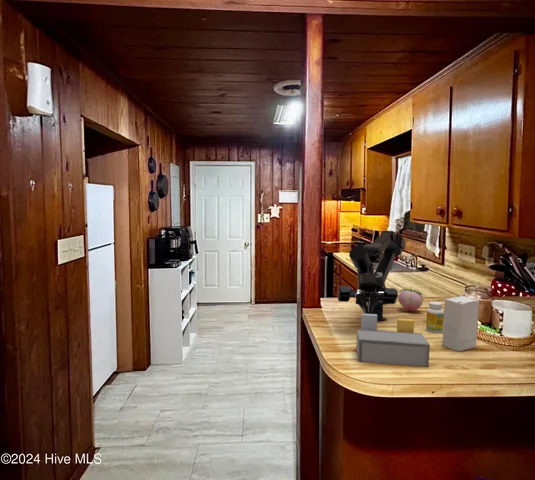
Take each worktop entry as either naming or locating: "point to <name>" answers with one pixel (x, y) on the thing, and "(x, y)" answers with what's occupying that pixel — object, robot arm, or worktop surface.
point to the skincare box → (460, 323)
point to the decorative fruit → (410, 299)
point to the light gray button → (369, 322)
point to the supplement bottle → (435, 317)
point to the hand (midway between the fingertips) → (368, 317)
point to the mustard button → (405, 325)
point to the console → (392, 348)
